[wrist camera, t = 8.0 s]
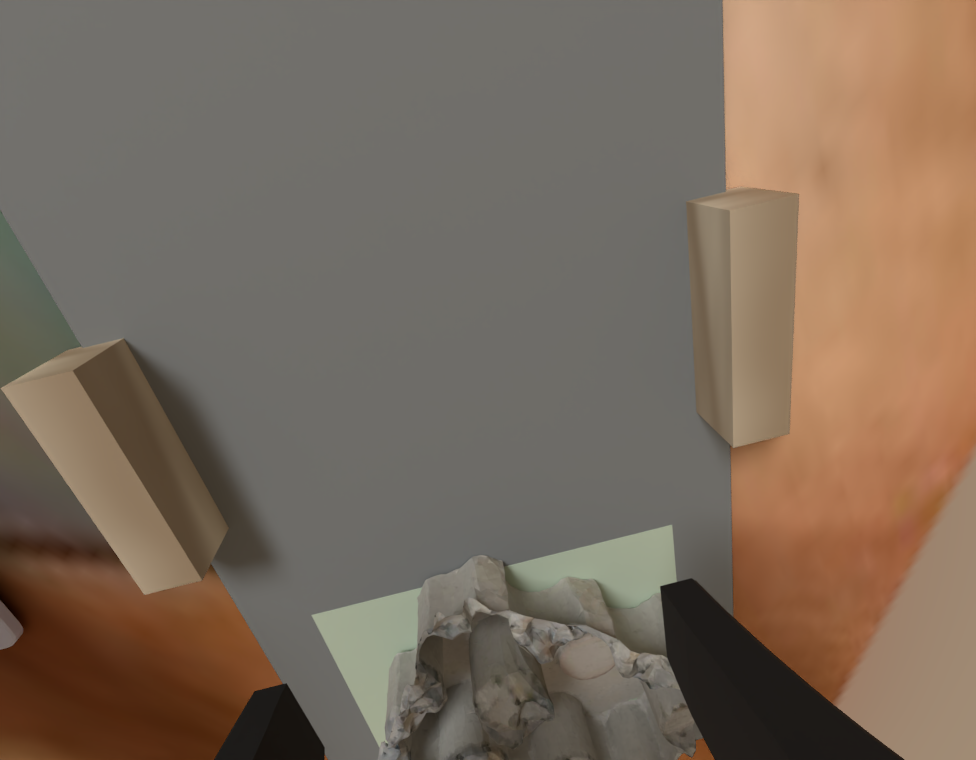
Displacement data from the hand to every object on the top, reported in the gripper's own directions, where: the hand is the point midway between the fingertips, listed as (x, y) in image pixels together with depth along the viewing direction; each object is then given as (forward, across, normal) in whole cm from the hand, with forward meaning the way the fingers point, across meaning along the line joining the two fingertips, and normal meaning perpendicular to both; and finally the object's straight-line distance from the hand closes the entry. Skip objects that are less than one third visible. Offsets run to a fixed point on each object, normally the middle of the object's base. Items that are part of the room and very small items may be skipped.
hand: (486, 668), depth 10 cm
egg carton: (+6, -1, +8) cm, 10 cm away
